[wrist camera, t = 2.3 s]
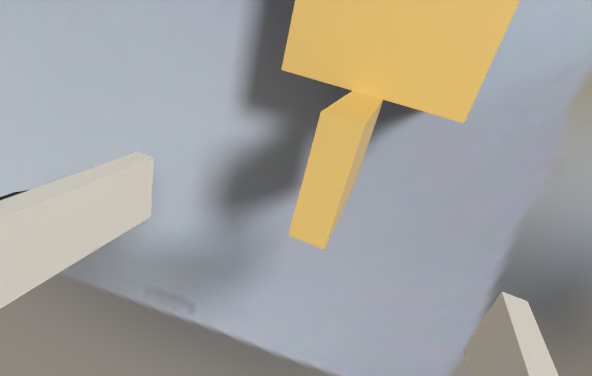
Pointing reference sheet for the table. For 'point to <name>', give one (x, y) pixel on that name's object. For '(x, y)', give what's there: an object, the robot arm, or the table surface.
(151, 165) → the robot arm
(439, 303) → the table surface
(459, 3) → the lid
